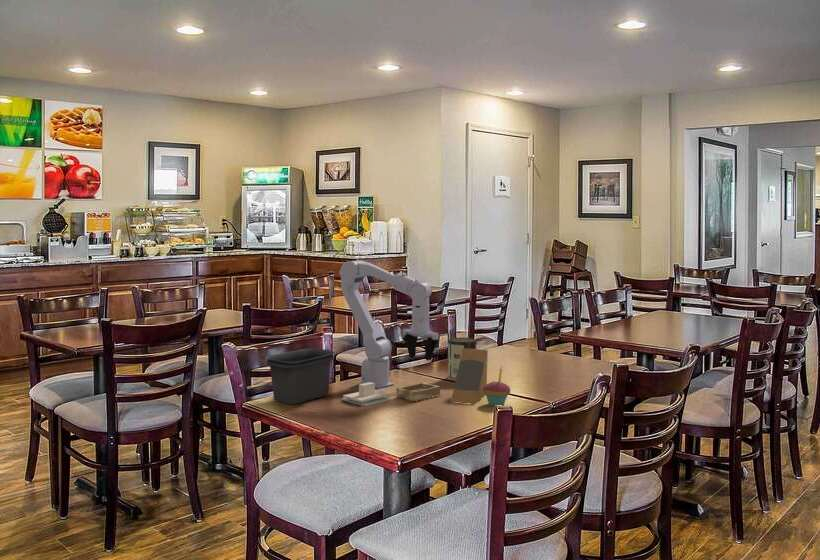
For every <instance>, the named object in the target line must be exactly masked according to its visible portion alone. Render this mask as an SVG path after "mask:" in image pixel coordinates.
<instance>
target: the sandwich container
mask: <svg viewBox="0 0 820 560" xmlns="http://www.w3.org/2000/svg"><path fill="white" fill-rule="evenodd" d="M488 353H489V352H488V350H487V349H479V348H476V349H468V348H463V350H462V355H461V360H460V365H459V369H458V373H457V377H456V381H454V385H453V386H454V387H453V391H452V394H451V399H450V402H461V403H471V404H476V403H477V402H478V401H479V402H481V401H482V400H481V398H483V397H484V396H485V397H486V395H485V394H483V388H484V387H485V386H486V385H487V384H488V358H489V357H488ZM485 397H484V398H485ZM484 398H483V399H484ZM480 400H481V401H480ZM479 402H478V403H479ZM478 403H477V404H478ZM477 404H476V405H477Z"/></svg>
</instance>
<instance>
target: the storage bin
mask: <svg viewBox="0 0 820 560" xmlns="http://www.w3.org/2000/svg"><path fill="white" fill-rule="evenodd" d="M334 354H336V351H334V350H330V349H329V350H328V349H323V348H316V347H315V348H314V347H313V348H302V349H297V350H291V351H287V352H286V351H285V352H282V353H277V354H272V355H271V354H270V355H268V356H265V359H266V365H267V366H269V367H270V368H269V369H270V376H271V384H272V385H271V387H272V393H273V400H274V401H275V402H277V403H282V404H286V405H292V406H293V405H296V404H300V403H304V402H306V401H310V400H314V399H317V398H322V397H325V396H328V395H329V391H330V377H331V376H330V375H331V363H332V361H333V360H335V356H334Z"/></svg>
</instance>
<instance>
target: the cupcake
mask: <svg viewBox="0 0 820 560" xmlns="http://www.w3.org/2000/svg"><path fill="white" fill-rule="evenodd" d="M502 372H503V366H502V365H500V368H499V373H498V381H491V382H489V383H487V385H486V386H485V387H484V388H483V394H485V397H486V400H487V403H488V405H489V404H490V405H493V406H492V407H496V406H495V405H503V406H505V403H506V400H507V397H508V396H509V395H510V394H511V388H510V386H509V385H508V384H506V383H504V382H503V381H501V380H502ZM490 405H489V406H490Z"/></svg>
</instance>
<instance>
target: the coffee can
mask: <svg viewBox="0 0 820 560" xmlns="http://www.w3.org/2000/svg"><path fill="white" fill-rule="evenodd" d="M477 342H478V341H477V339H475V338H471V337H451V338H448V339H447V343H448V344H447V345H448V347H447V351H448V352H447V379H448V380H450V381H454V380H455V381H456V377H457V373H458V369H459V365H460V360H461V355H462V350H463V348H468V349H477ZM455 381H454V382H455Z"/></svg>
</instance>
